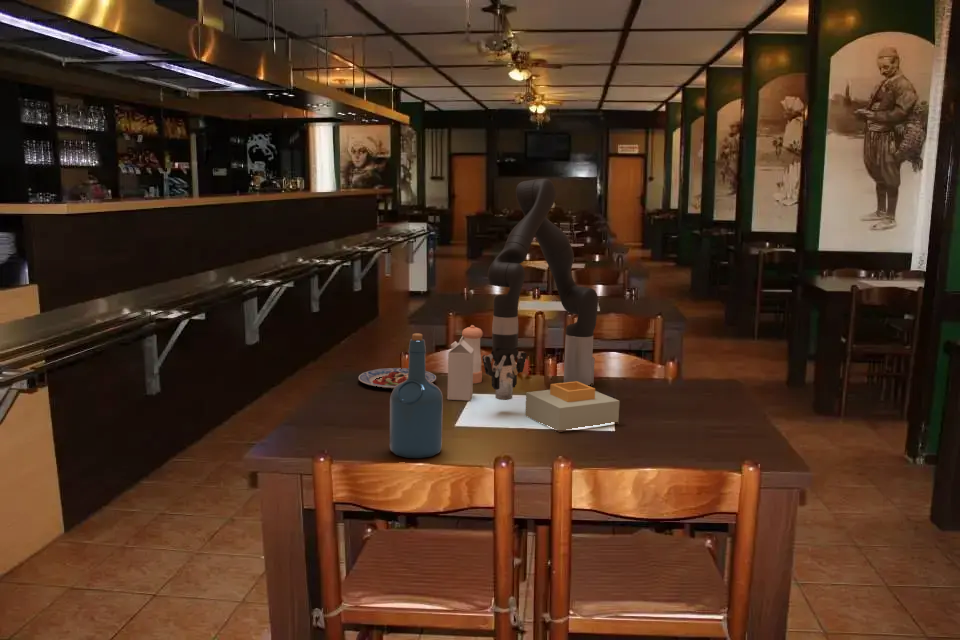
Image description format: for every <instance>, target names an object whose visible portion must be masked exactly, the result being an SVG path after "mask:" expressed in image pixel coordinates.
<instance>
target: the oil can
mask: <svg viewBox="0 0 960 640" xmlns="http://www.w3.org/2000/svg"><path fill="white" fill-rule="evenodd" d="M496 366H498V365H497V364H496ZM498 377H499V389H498V390H495V399H497V400H499V401H500V400H501V401H509V400H512V399H513V378H514V377H515V375H514V374H513V365H504V366H502V369H501V370H500V372H499V375H498Z"/></svg>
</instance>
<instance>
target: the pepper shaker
mask: <svg viewBox="0 0 960 640" xmlns="http://www.w3.org/2000/svg"><path fill="white" fill-rule="evenodd" d="M461 334H462V335H461V337H462V336H463V340H464V341H465V342H466V343H467V344H468V345H470V346H471V347H472V348H473V349H474V354H473V384H480V383H482V382H483V381H482V380H483V371H482V355H481V338H483V335H484V332H483V330H482V329H481V328H479V327H476V326H475V325H473V324H471V325H470V326H468V327H466V328H464V329H462V331H461Z"/></svg>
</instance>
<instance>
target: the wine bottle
mask: <svg viewBox="0 0 960 640" xmlns="http://www.w3.org/2000/svg"><path fill="white" fill-rule="evenodd" d="M426 349H427V348H426V340H425V338H424V339H423V334H422V333H417V332H415V333H412V335H411V339H410V340H409V345H408V352H407V353H408V378H407V380H406V381H404V382H402V383H399V384H398V385H396V387H395V388H394V389H392V392H391V394H390V396H389V449H390V451H391V452H392V453H393V454H394V455H395V456H399V457H403V458H407V459H424V458H430V457H434V456H435V455H438V454H440V452H441V450H442V446H443V409H444V407H443V405H444V404H443V403H444V402H443V401H444V400H443V398H444V396H443V395H444V394H443V392H442V390H441V389H440V387H439V386H438V385H436V384H434V382H432V383H431V382H429V381H428V380H427V379H426V371H427V370H426V353H427V350H426Z"/></svg>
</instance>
